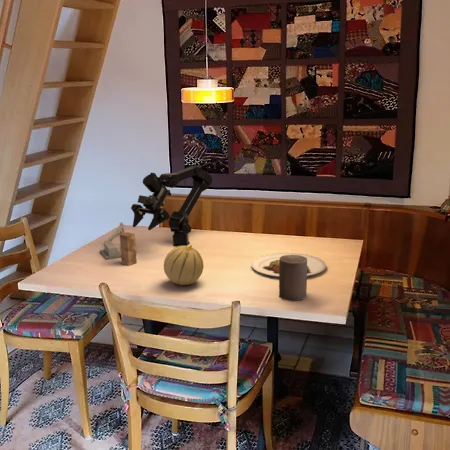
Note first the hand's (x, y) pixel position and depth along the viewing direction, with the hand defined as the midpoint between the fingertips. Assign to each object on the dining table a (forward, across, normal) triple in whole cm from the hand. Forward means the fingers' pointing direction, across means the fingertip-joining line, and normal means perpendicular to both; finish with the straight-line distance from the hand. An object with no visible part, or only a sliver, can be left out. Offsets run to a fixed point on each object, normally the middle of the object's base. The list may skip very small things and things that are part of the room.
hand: (141, 228), depth 231 cm
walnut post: (+15, 0, +4) cm, 16 cm away
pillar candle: (+10, +75, +9) cm, 76 cm away
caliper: (0, -35, +20) cm, 41 cm away
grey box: (+12, -16, +7) cm, 21 cm away
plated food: (-8, +58, +27) cm, 65 cm away
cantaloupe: (+19, +35, 0) cm, 40 cm away
